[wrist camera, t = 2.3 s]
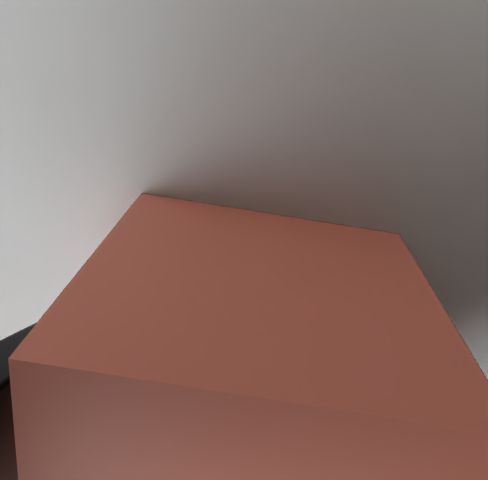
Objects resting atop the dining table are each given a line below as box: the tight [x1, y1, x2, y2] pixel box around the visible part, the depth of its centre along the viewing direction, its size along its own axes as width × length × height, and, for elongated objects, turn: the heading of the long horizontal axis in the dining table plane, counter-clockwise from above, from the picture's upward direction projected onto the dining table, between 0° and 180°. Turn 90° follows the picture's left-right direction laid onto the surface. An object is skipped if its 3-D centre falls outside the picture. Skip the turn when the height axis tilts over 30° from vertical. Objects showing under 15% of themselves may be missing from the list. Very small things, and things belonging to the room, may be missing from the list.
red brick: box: [8, 193, 488, 480], centre depth 8 cm, size 5×5×5 cm
